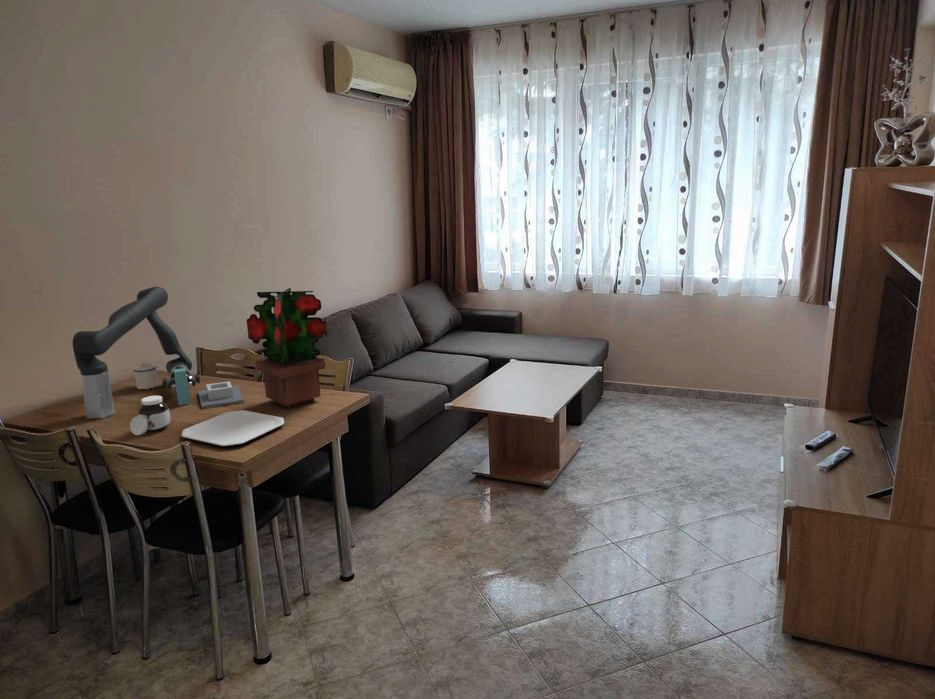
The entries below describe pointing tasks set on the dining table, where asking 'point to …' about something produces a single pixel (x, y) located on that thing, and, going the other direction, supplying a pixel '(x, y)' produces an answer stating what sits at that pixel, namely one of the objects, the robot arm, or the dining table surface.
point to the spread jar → (151, 416)
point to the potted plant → (289, 345)
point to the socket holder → (220, 395)
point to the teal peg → (181, 386)
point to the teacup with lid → (145, 375)
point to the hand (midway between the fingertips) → (181, 385)
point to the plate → (233, 428)
